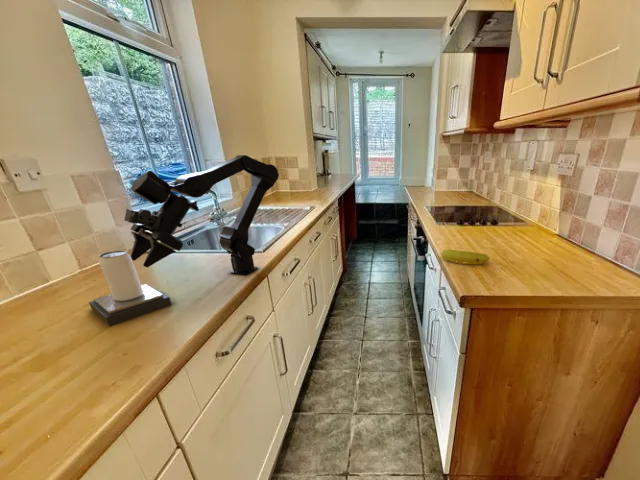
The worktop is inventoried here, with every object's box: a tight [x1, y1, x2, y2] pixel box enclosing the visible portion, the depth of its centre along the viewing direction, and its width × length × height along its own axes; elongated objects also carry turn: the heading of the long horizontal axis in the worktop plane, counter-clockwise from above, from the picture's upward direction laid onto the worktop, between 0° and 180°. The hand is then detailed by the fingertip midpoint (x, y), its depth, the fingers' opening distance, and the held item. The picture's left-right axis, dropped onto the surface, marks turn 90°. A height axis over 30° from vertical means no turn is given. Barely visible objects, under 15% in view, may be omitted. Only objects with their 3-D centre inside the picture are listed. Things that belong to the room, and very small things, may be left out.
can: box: [98, 249, 143, 301], centre depth 82 cm, size 6×6×12 cm
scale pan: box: [93, 283, 163, 314], centre depth 85 cm, size 12×12×1 cm
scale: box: [88, 284, 172, 327], centre depth 86 cm, size 14×14×2 cm
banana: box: [440, 248, 490, 265], centre depth 120 cm, size 5×17×15 cm
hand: (138, 263), depth 85 cm, fingers open, 9 cm apart
